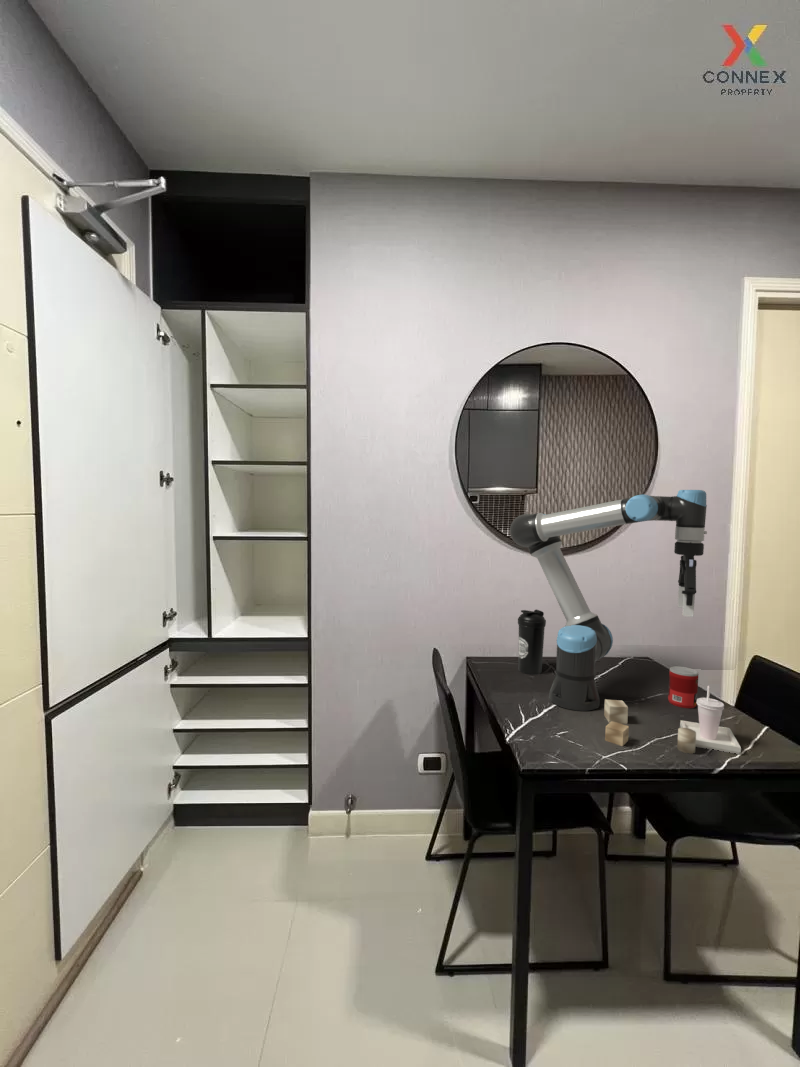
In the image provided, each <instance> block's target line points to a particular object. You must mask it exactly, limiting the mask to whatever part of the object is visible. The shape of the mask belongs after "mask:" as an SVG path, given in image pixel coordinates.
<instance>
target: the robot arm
mask: <svg viewBox="0 0 800 1067" xmlns="http://www.w3.org/2000/svg"><path fill="white" fill-rule="evenodd" d="M707 506H708V505H707V492H706V491H705V490H703V489H680V490H678V491H677V494H676V495H674V496H673V495H672V496H665V495H664V496H661V495H660V496H659V495H657V496H656V495H649V494H643V493H642V494H637V495H634V496H632V497H627V498H622V499H617V500H612V501H608V502H607V501H606V502H603V503H598V504H593V505H592V504H591V505H588V506H583V507H577V508H574V509H573V508H572V509H568V510H562V511H558V512H552V513H548V514H544V513H542V512H537V513H524V514H521V515H518V516H517V517H515V518H514V519H513V520H512V522H511V523H510V527H509V534H510V538H511V539H512V541H513V543H515V544H516V545H518V546H519V547H522V548H527V550H528V552H529V554H530V556H531V557H533V558H536V559H537V561H538V562H539V564H540V567H541V569H542V571H543V573H544V575H545V578H546V580H547V581H548V584H549V586H550V588H551V590H552V592H553V595H554V597H555V599H556V602H557V603H558V606H559V608H560V610H561V612H562V614H563V616H564V619H565V621H566V622H565V625H564V626H563V627H561V628H560V629H559V630H558V632H557V636H556V637H557V638H556V662H555V665H556V667H555V668H556V669H555V677H554V680H553V681H552V684H551V687H550V689H549V695H548V696H549V700H550V702H552V704H554V705H556V706H558V707H561V708H564V709H567V710H571V711H581V712H582V711H583V712H584V711H587V712H589V711H592V710H596V709H598V708H599V707H600V700H601V698H600V695H599V691H598V687H597V685H596V681H595V678H596V676H595V674H596V673H595V672H596V662H597V661H599V660H600V659H602V658H604V657H606V656H607V655H608V653H610V650H611V649H612V646H613V643H614V638H613V634H612V632H611V629H610V628H609V627H608V626H607V625H605V624H603V623H602V622H601V620H600V618H599V616H598V614H596V613H595V612H592V611H591V610H590V608H589V605H588V604H587V601H586V600H585V598H584V595H583V593H582V591H581V589H580V587H579V585H578V583H577V580H576V579H575V577H574V575H573V572H572V571H571V568H570V566H569V564H568V562H567V560H566V558H565V556H564V554H563V552H562V549H561V547H562V544H563V542H562V540H561V537H560V536H565V535H572V534H578V533H583V532H588V531H593V530H599V529H607V528H611V527H617V526H623V525H628V524H636V523H640V522H641V523H642V522H648V521H652V522H653V521H656V522H658V521H663V522H666V521H667V522H668V521H669V522H675V530H674V531H675V532H674V540H675V542H674V550H673V552H674V554H676V555H679V556H680V555H681V556H680V560H679V573H678V581H677V582H678V592H677V593H678V595H677V608H681V609H682V617H688V618H694V615H695V614H694V613H695V612H694V611H695V599H696V598H695V596H696V594H697V564H698V563H697V559H695V557H696V556H697V557H700V556H703V555H704V549H705V544H704V543H703V541H705V535H707V534H708V532H707V531H706V530H705V528H706V520H707V518H706V516H707Z"/></svg>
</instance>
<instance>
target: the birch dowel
mask: <svg viewBox="0 0 800 1067" xmlns="http://www.w3.org/2000/svg"><path fill="white" fill-rule="evenodd" d="M695 745H696V732H695V731H694V730H692V729H689V728H680V727H679V728H677V746H676V747H677V748H676V749H677V750H678V751H679V752H681V753H683V754H687V753H689V755H694V754H695V753H696V747H695ZM693 753H694V754H693Z"/></svg>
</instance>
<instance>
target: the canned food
mask: <svg viewBox="0 0 800 1067" xmlns="http://www.w3.org/2000/svg"><path fill="white" fill-rule="evenodd" d="M698 686H699V672H698V670H695V669H693V668H690V667H686V666H676V665H675V666H671V667H669V674H668V694H667V699H668V702H669V704H671V705H673V706H675V707H678V708H681V709H682V708H683V709H695V708H696V707H697V706H698V705H697V703H696V702H697V699H698V693H699V692H698V690H699V687H698Z"/></svg>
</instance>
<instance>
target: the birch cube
mask: <svg viewBox="0 0 800 1067" xmlns="http://www.w3.org/2000/svg"><path fill="white" fill-rule="evenodd" d="M603 710H604V712H603V716H604V717H605V719H606V721H607V722H608V724H609V723H610V722H611V721H613V722H616V723H620V724H623V725H628V713H629V711H628V710H629V707H628V705H627V704H626V703H625V702H624V701H623V700H619V699H618V700H617V699H606V698H605V699H604V709H603Z"/></svg>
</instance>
